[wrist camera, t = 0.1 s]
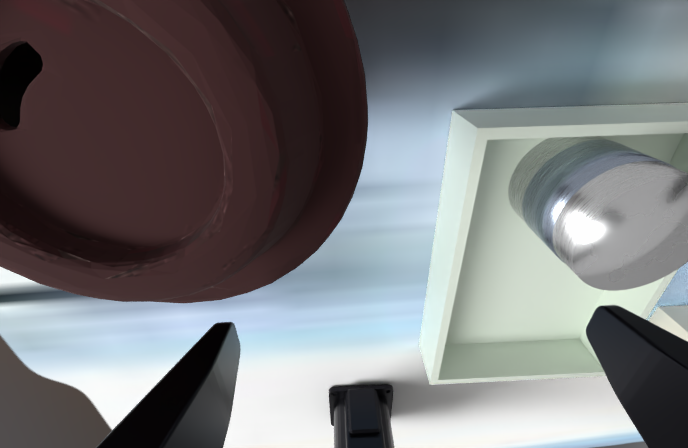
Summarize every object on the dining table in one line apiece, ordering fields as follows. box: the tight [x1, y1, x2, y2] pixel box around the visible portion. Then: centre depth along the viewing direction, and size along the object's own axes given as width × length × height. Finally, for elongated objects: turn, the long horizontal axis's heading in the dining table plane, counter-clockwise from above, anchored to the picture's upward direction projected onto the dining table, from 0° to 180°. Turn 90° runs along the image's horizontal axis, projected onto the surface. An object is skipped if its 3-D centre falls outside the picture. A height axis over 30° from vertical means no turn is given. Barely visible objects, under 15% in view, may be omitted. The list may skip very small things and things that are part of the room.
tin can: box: [508, 136, 688, 291], centre depth 19 cm, size 7×7×7 cm
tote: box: [419, 103, 688, 385], centre depth 24 cm, size 21×15×4 cm
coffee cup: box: [0, 0, 368, 303], centre depth 12 cm, size 10×10×15 cm
